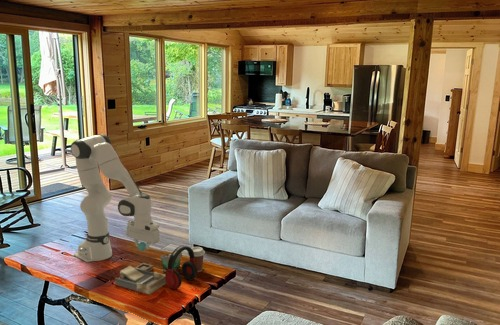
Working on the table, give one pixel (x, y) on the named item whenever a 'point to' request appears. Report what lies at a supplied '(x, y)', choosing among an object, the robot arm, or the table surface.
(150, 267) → the brown square wooden tray
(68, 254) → the table surface
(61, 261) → the table surface
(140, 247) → the ball
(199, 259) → the coffee cup
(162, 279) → the tray
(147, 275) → the grey railed platform
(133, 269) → the ramp
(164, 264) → the food container
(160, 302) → the table surface
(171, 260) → the headphones
